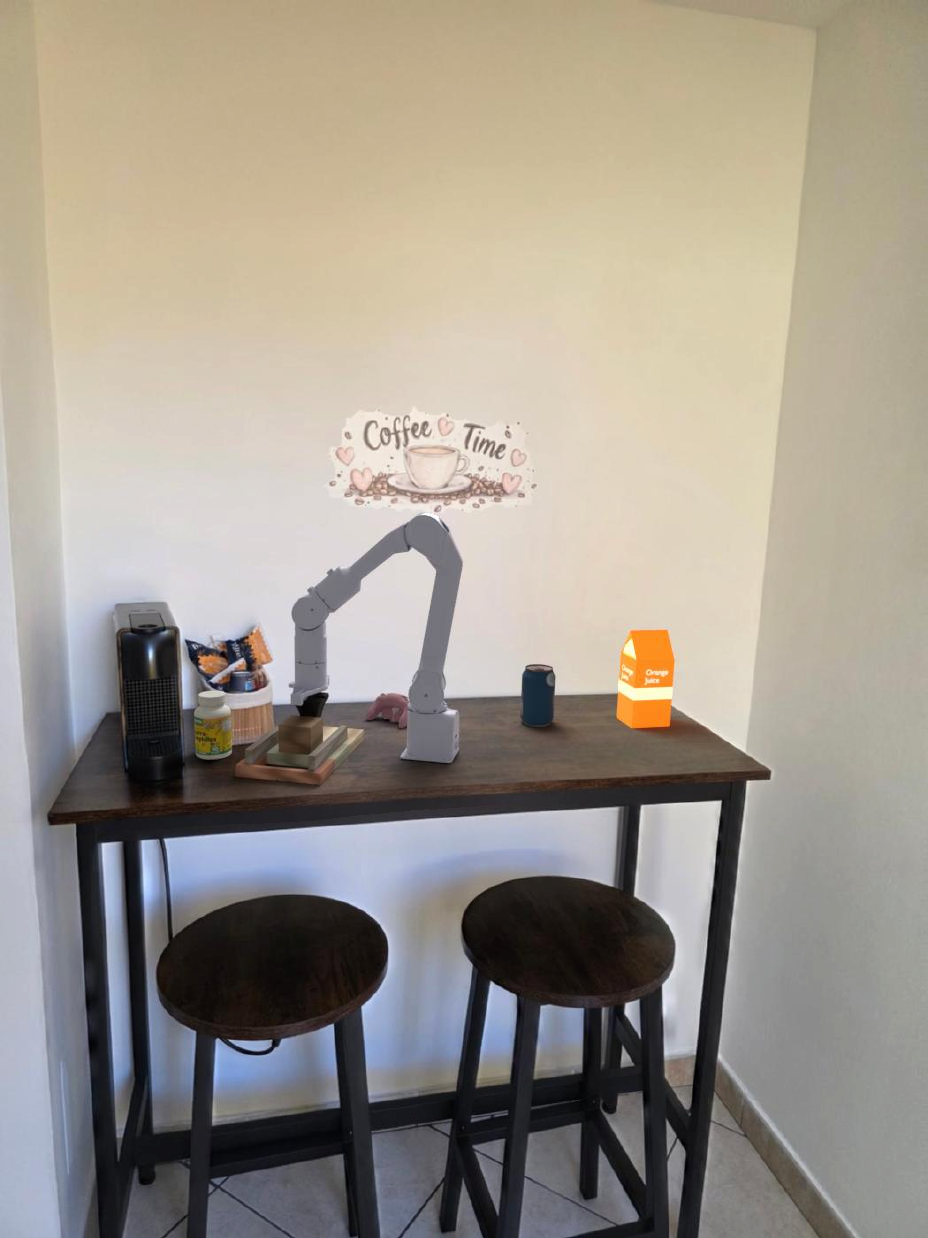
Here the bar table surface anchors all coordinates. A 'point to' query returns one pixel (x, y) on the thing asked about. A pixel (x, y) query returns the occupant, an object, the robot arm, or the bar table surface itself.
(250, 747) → the channel deck
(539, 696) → the soda can
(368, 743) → the bar table surface
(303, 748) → the walnut block
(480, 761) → the bar table surface
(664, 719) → the orange juice
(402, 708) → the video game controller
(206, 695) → the supplement bottle
